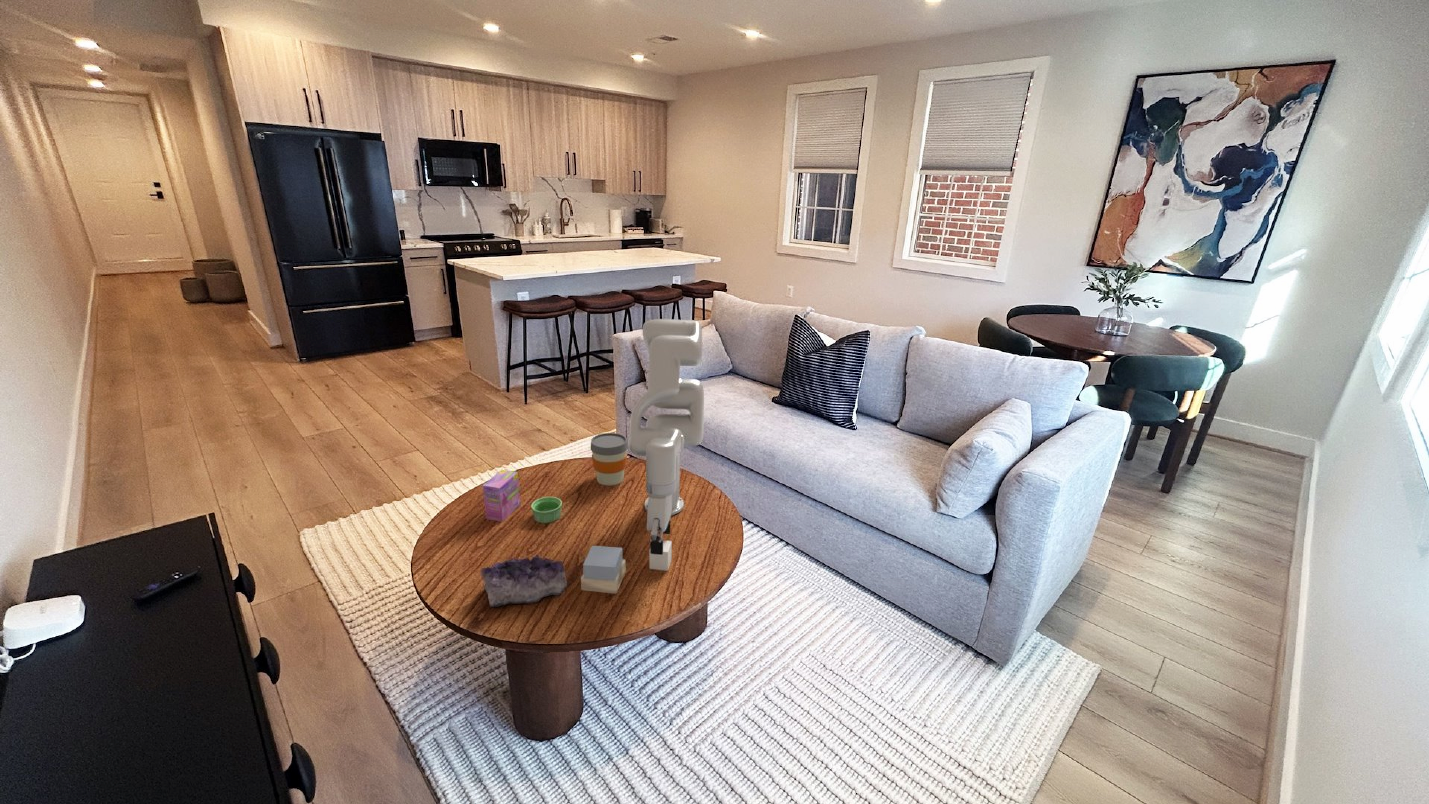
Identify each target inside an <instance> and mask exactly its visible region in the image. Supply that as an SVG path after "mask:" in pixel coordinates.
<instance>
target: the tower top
mask: <svg viewBox="0 0 1429 804" xmlns="http://www.w3.org/2000/svg"><path fill="white" fill-rule="evenodd" d="M623 559H624V558H623V547H617V546H615V547H614V546H604V545H603V546H602V545H591V547H590V549H589V551H588V553H587V556H586V558H585V559H584V562H583V564H582V567H583V568H582V569H583V573H584V578H588V579H601V580H616V578H617V575H618V572H619V569H620V566H621V564H622V561H623ZM583 573H582V574H583Z"/></svg>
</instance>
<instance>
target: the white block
mask: <svg viewBox="0 0 1429 804" xmlns="http://www.w3.org/2000/svg"><path fill="white" fill-rule="evenodd" d="M662 540H663V554H662V555H657V554H651V553H650V549H649V550H648V551H649V558H648V559H649V569H650V570H659V571H664V572H665V571H667V572H668V571H669V568H670V565H671V563H672V549H673V548H672V547H673V544H672V543H673V542H672V540H664V539H662Z"/></svg>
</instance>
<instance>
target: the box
mask: <svg viewBox="0 0 1429 804" xmlns="http://www.w3.org/2000/svg"><path fill="white" fill-rule="evenodd" d="M519 486H520V484H519V473H518V471H514V470H507V469H501V470H499V471H498V472H497V473H496V474H494V475H493V476H492V477H491V478H490V479H488V480H487V481H486V482H485V483H484V484H483V485H482V490H483V491H482V492H483V501H484V502H483V503H484V511H485V518H486V519H487V520H488V521H489V520H490V521H496V522H504V521H505V520H506V519H508V517H509V516H510V515H511V514H512V513H513V512H514V511H515V510H516V509H517V508H518V507H519V506H521V497H520V496H521V495H520V487H519Z"/></svg>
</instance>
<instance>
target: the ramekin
mask: <svg viewBox="0 0 1429 804" xmlns="http://www.w3.org/2000/svg"><path fill="white" fill-rule="evenodd" d="M562 504H563V501H562V500H561V499H560V498H558V497H557V496H556V497H555V496H542V497H539V498H537V499H535V500H534V501H533V502H532V503H531V506H530V507H531V508H530V509H531V511H532V515H533V519H534V520H535V522H538V523H539V524H540V523H541V524H549V523H553V522H556V521H557V520H559V519H560V517H561V516H562V506H563V505H562Z"/></svg>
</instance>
